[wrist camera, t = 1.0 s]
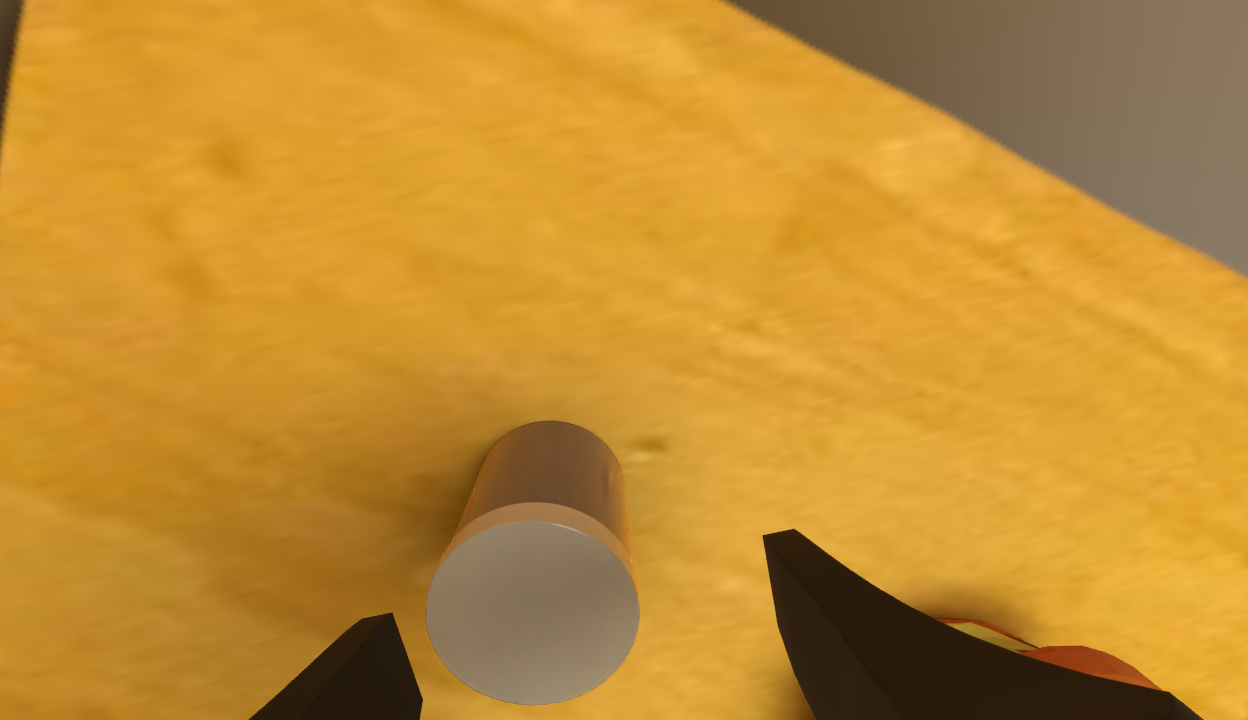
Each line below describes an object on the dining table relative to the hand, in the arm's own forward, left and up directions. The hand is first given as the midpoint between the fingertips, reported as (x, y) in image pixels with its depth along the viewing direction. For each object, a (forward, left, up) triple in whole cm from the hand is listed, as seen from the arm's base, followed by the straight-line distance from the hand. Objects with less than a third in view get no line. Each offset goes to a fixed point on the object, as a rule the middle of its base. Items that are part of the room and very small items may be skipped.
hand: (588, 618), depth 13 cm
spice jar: (-3, +1, -10) cm, 11 cm away
